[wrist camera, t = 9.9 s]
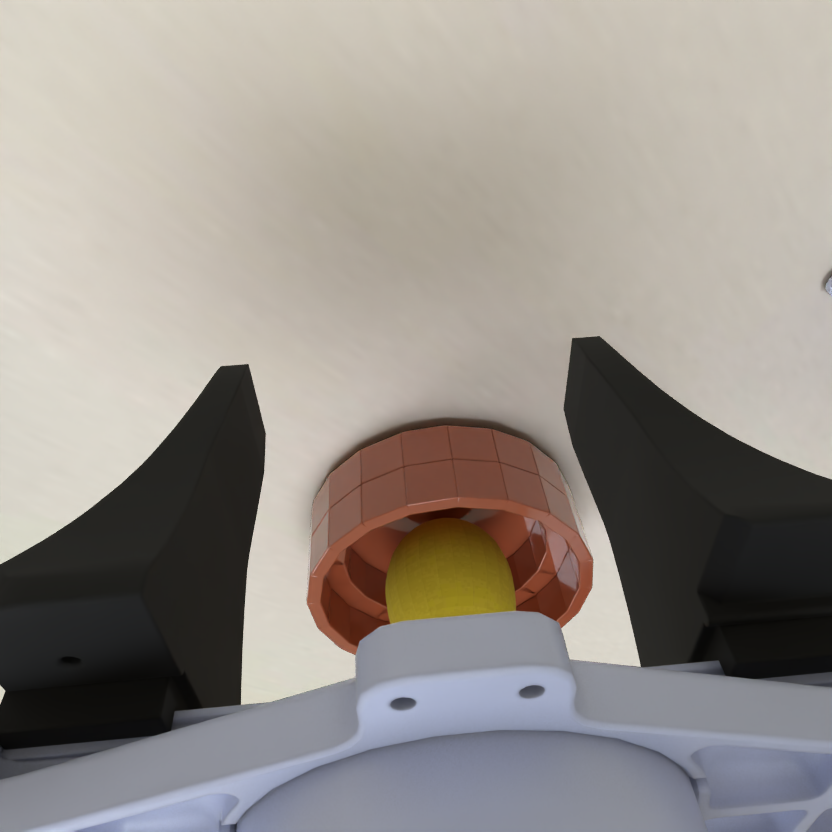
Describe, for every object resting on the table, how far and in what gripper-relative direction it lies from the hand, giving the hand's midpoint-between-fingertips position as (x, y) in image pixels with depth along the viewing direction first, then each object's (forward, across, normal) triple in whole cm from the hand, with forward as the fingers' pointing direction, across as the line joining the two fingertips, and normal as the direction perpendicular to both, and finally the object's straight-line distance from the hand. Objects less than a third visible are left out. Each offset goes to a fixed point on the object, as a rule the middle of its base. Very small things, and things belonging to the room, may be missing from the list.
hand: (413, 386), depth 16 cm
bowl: (+10, -1, +16) cm, 19 cm away
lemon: (+10, -1, +16) cm, 19 cm away
